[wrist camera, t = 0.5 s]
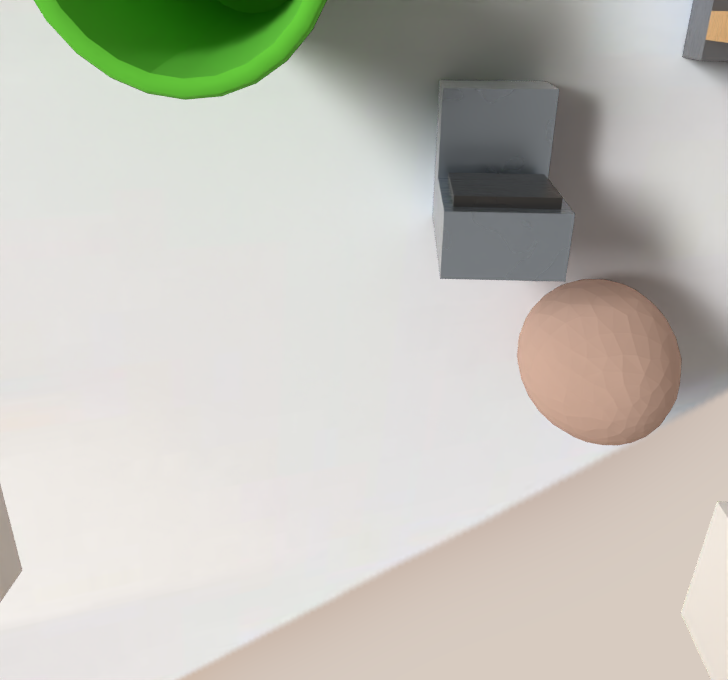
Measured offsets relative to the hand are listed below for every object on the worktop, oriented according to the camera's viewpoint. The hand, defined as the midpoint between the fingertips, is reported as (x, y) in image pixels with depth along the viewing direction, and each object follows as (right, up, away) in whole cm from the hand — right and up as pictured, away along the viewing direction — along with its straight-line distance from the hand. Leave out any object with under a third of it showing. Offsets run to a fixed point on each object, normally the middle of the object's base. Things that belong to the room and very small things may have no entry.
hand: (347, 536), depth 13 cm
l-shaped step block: (+6, +12, +18) cm, 22 cm away
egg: (+11, +5, +21) cm, 24 cm away
